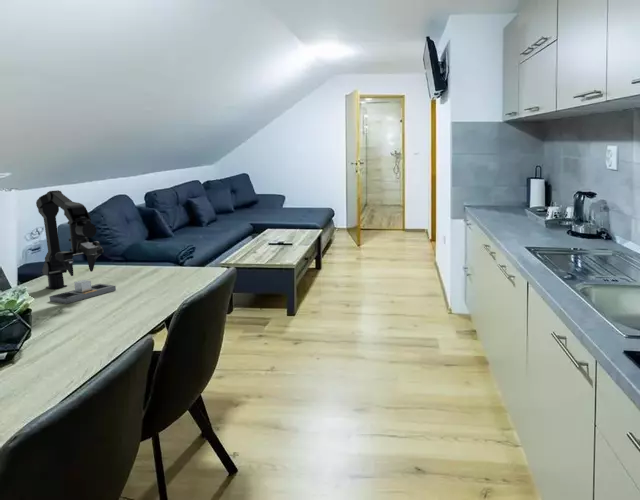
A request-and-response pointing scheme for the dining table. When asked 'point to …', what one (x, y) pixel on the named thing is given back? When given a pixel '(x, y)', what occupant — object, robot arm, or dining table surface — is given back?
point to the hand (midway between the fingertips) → (81, 273)
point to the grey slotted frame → (82, 294)
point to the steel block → (82, 286)
